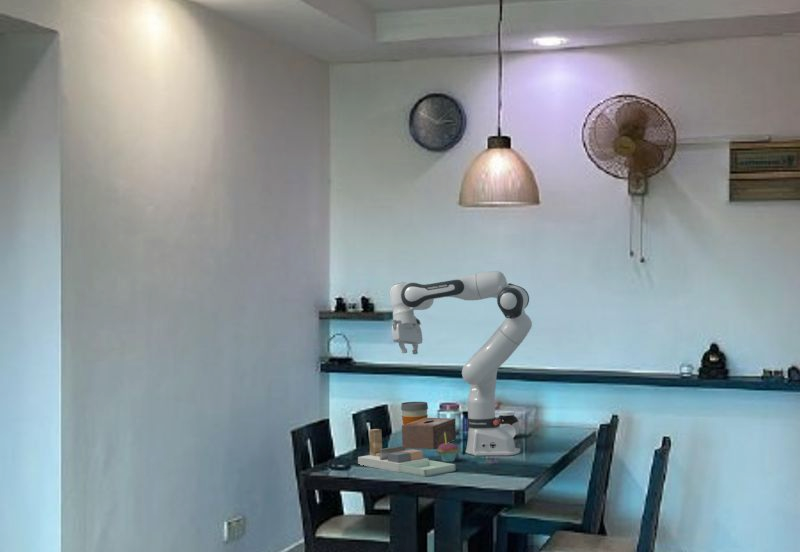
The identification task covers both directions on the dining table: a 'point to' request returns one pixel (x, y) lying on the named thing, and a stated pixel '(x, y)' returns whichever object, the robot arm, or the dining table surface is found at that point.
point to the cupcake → (448, 451)
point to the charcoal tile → (398, 457)
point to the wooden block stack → (380, 445)
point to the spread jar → (509, 422)
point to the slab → (383, 462)
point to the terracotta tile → (414, 454)
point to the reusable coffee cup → (413, 411)
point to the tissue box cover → (428, 433)
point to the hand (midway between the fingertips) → (410, 353)
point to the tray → (427, 468)
